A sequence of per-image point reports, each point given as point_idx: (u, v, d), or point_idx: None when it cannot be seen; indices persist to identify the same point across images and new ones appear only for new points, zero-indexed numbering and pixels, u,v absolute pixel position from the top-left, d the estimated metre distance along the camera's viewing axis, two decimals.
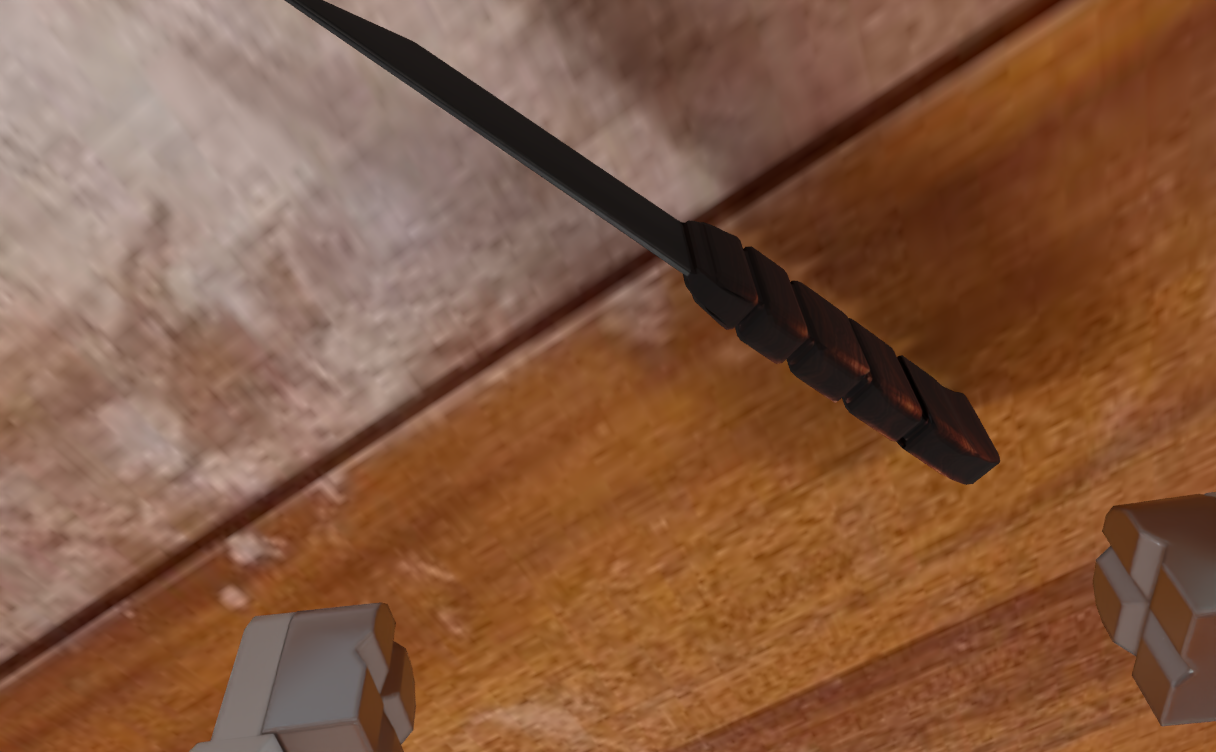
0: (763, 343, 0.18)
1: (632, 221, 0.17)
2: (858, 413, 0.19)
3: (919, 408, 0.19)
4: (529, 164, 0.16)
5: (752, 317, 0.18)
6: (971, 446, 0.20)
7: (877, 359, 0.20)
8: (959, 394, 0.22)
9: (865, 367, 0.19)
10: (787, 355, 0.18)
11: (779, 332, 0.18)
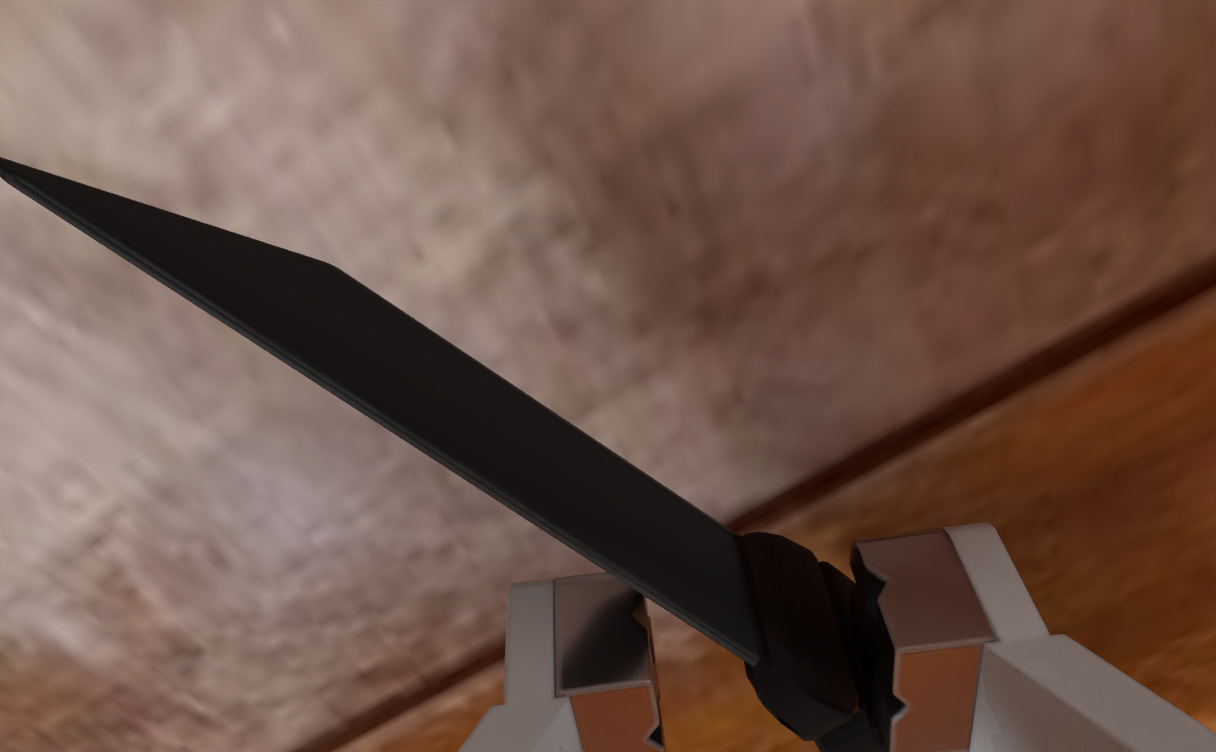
0: None
1: (673, 578, 0.10)
2: None
3: None
4: (516, 509, 0.09)
5: (842, 720, 0.11)
6: None
7: None
8: None
9: None
10: None
11: None
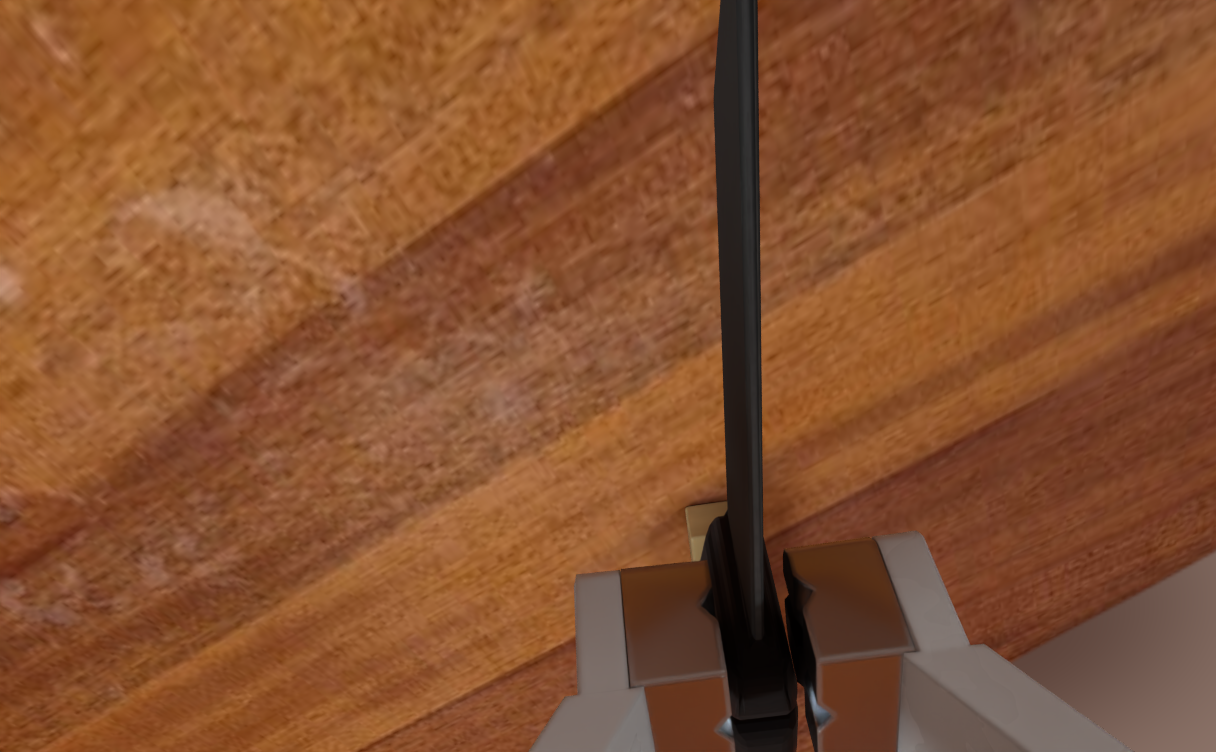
0: (751, 751, 0.12)
1: None
2: None
3: None
4: (757, 421, 0.09)
5: None
6: None
7: None
8: None
9: None
10: None
11: (780, 751, 0.12)
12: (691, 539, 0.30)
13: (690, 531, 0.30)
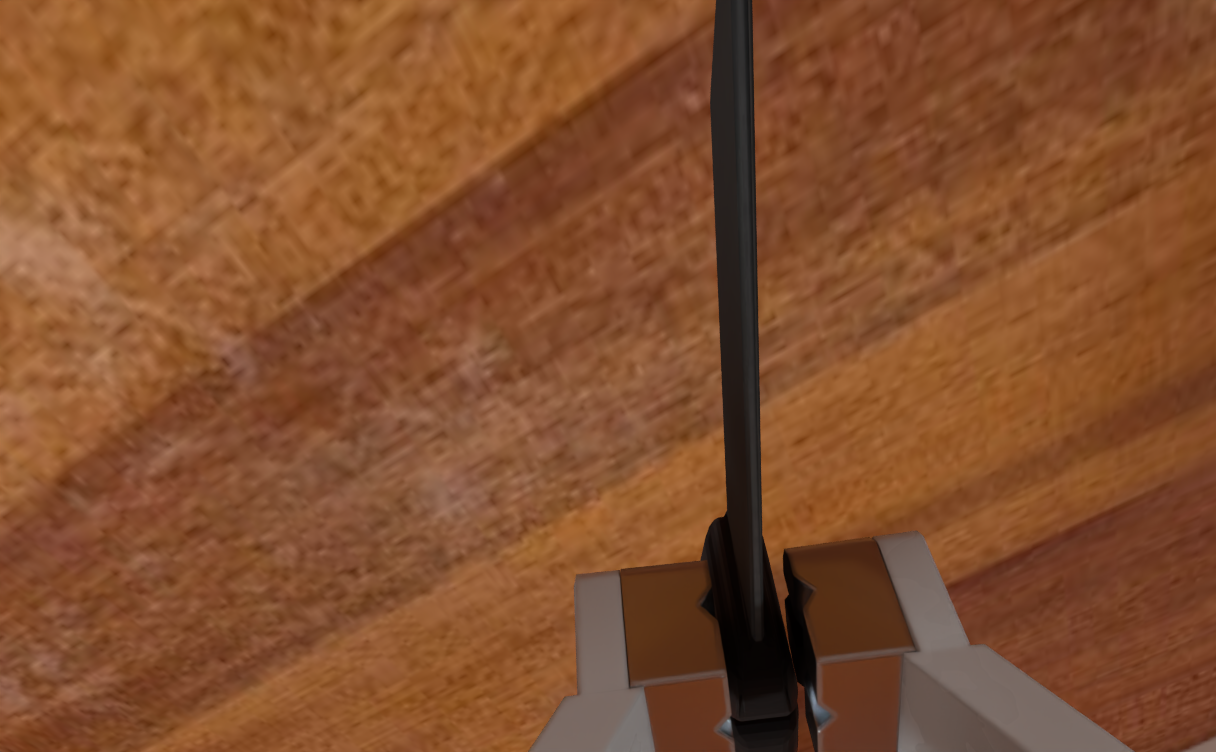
0: None
1: None
2: None
3: None
4: (755, 423, 0.09)
5: None
6: None
7: None
8: None
9: None
10: None
11: None
12: None
13: None
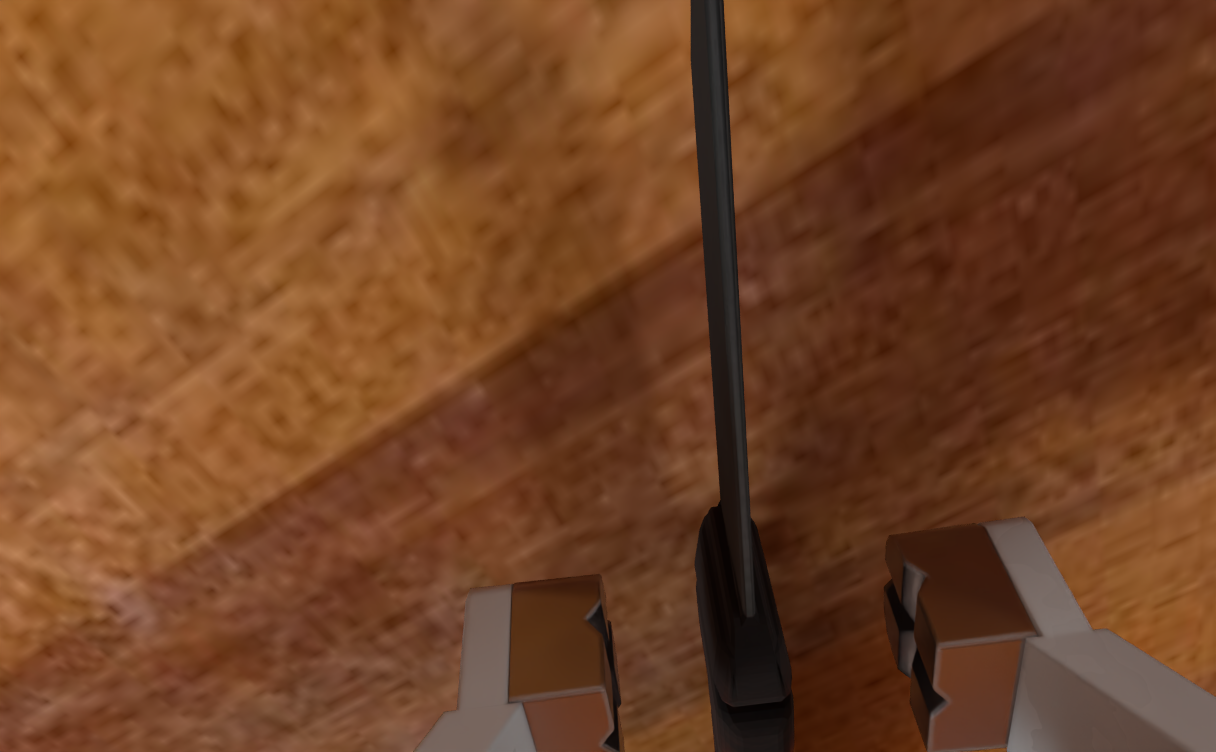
0: (746, 743, 0.12)
1: None
2: None
3: None
4: (737, 368, 0.09)
5: None
6: None
7: None
8: None
9: None
10: None
11: (776, 742, 0.12)
12: None
13: None
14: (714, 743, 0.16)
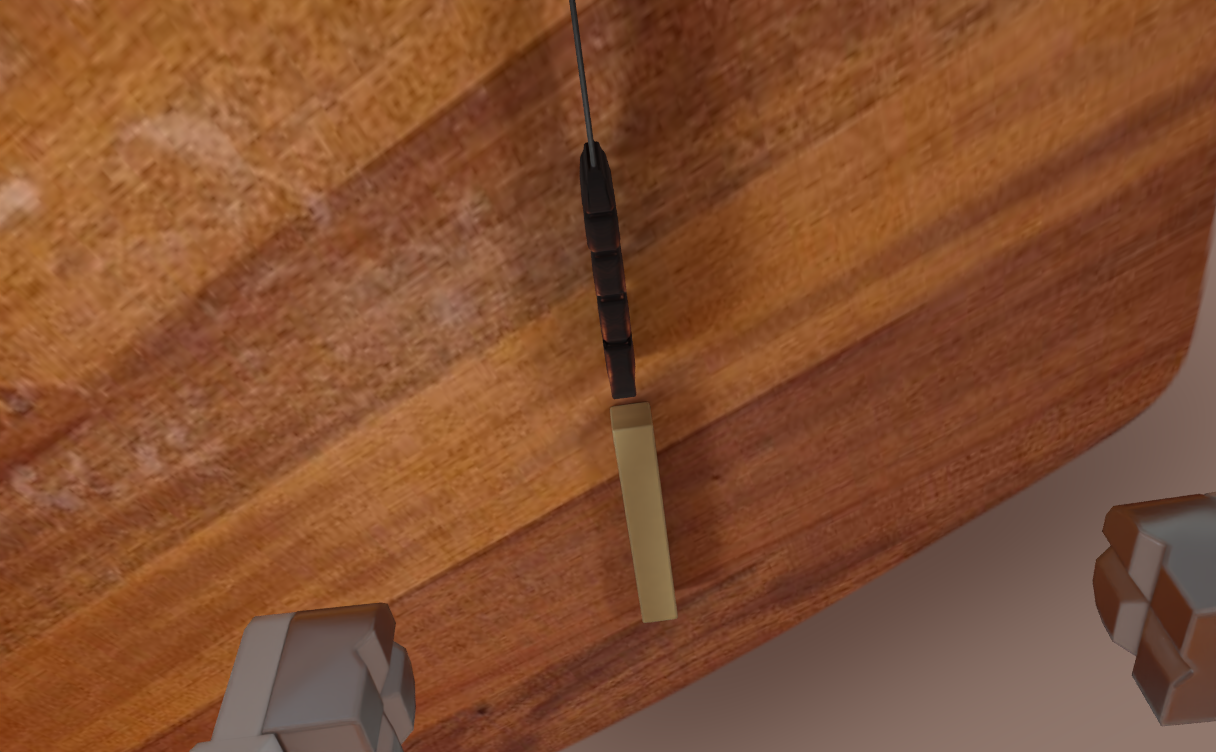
0: (596, 233, 0.28)
1: None
2: (603, 310, 0.30)
3: (629, 332, 0.31)
4: (578, 43, 0.25)
5: (600, 216, 0.28)
6: (634, 373, 0.31)
7: None
8: None
9: (624, 289, 0.30)
10: (601, 249, 0.29)
11: (609, 233, 0.28)
12: (613, 432, 0.35)
13: (612, 425, 0.35)
14: None
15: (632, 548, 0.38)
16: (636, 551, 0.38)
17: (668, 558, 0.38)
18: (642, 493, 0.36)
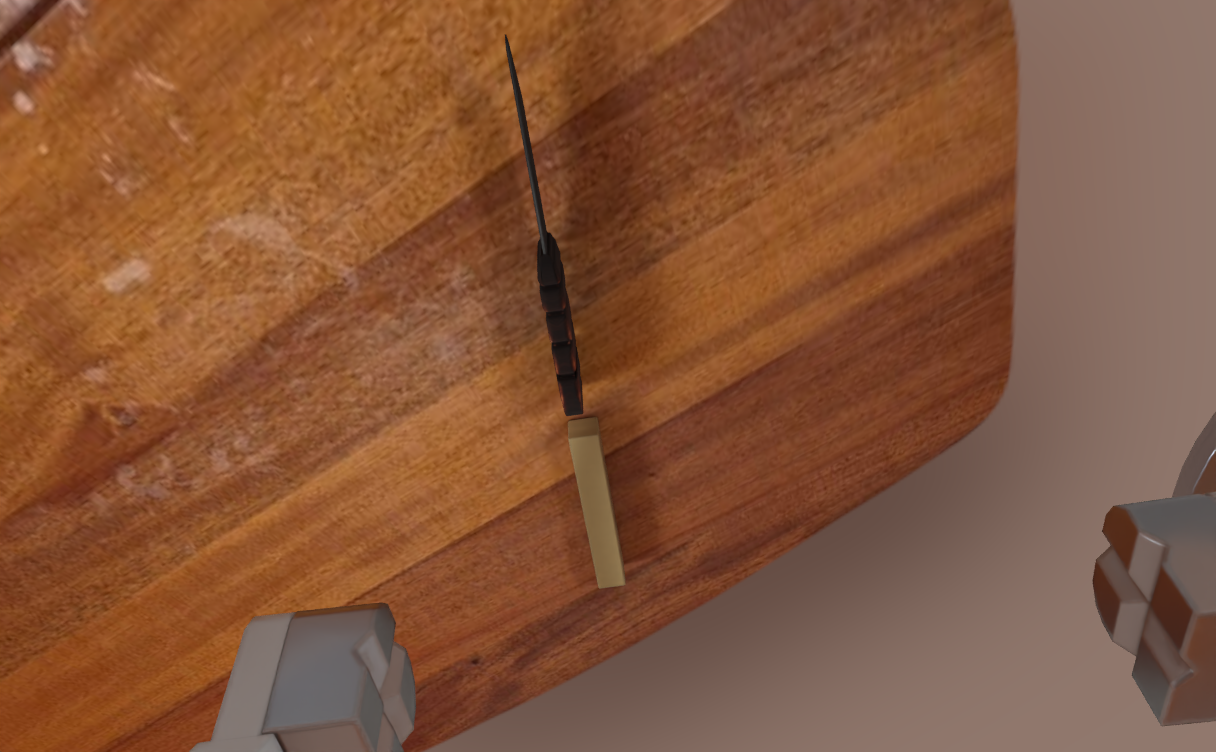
0: (548, 299, 0.40)
1: (541, 219, 0.38)
2: (555, 352, 0.41)
3: (575, 368, 0.42)
4: (530, 173, 0.37)
5: (551, 287, 0.40)
6: (580, 397, 0.43)
7: (573, 338, 0.42)
8: None
9: (570, 337, 0.41)
10: (551, 310, 0.40)
11: (557, 299, 0.40)
12: (569, 440, 0.46)
13: (568, 435, 0.46)
14: None
15: (587, 529, 0.49)
16: (590, 531, 0.49)
17: (615, 537, 0.50)
18: (593, 486, 0.48)
